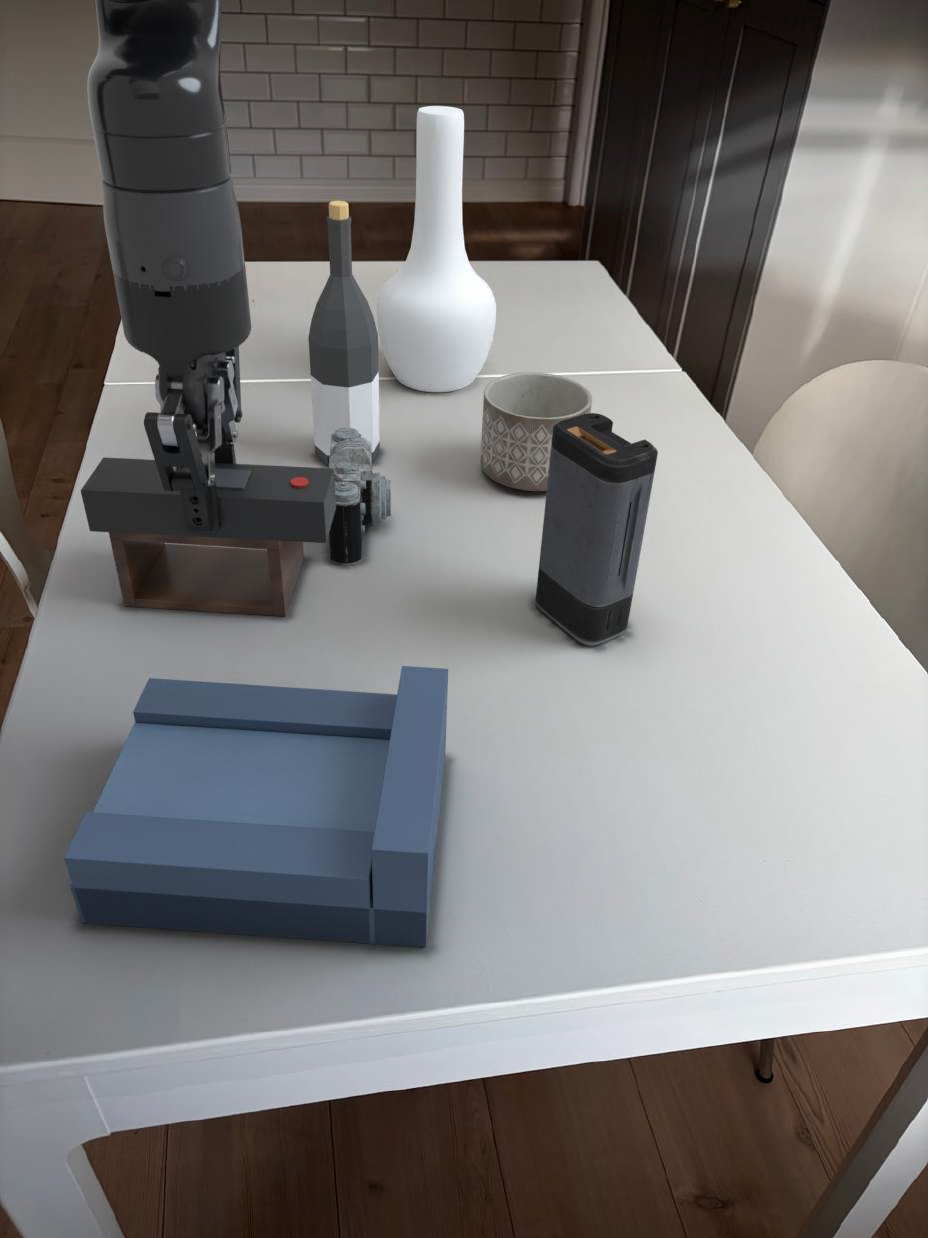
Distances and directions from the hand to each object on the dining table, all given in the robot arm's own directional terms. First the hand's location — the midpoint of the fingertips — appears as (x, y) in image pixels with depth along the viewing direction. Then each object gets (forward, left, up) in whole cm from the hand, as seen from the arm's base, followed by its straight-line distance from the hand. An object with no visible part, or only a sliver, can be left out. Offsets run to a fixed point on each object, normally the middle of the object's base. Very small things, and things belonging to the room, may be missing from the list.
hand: (213, 510), depth 68 cm
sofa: (+4, -8, -24) cm, 25 cm away
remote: (0, 0, -1) cm, 1 cm away
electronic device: (+28, +22, -24) cm, 43 cm away
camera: (+4, +36, -24) cm, 43 cm away
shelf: (-9, +24, -23) cm, 35 cm away
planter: (+23, +51, -24) cm, 61 cm away
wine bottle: (0, +53, -24) cm, 58 cm away
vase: (+9, +78, -24) cm, 82 cm away
